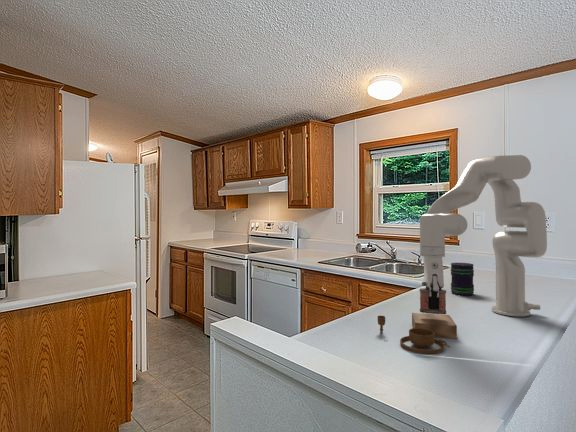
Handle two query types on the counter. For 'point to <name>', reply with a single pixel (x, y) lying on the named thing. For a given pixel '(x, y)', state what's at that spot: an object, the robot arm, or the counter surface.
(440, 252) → the robot arm
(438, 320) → the walnut base
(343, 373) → the counter surface
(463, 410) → the counter surface
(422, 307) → the lighter
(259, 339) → the counter surface
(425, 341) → the place setting
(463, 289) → the storage jar
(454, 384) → the counter surface
